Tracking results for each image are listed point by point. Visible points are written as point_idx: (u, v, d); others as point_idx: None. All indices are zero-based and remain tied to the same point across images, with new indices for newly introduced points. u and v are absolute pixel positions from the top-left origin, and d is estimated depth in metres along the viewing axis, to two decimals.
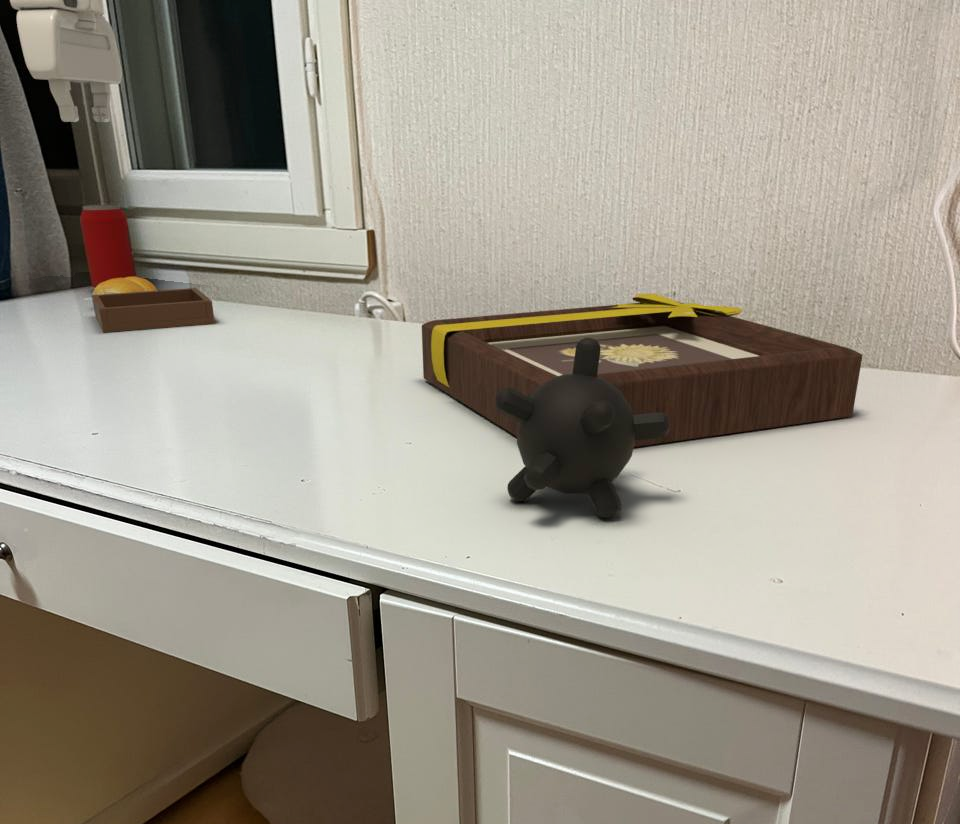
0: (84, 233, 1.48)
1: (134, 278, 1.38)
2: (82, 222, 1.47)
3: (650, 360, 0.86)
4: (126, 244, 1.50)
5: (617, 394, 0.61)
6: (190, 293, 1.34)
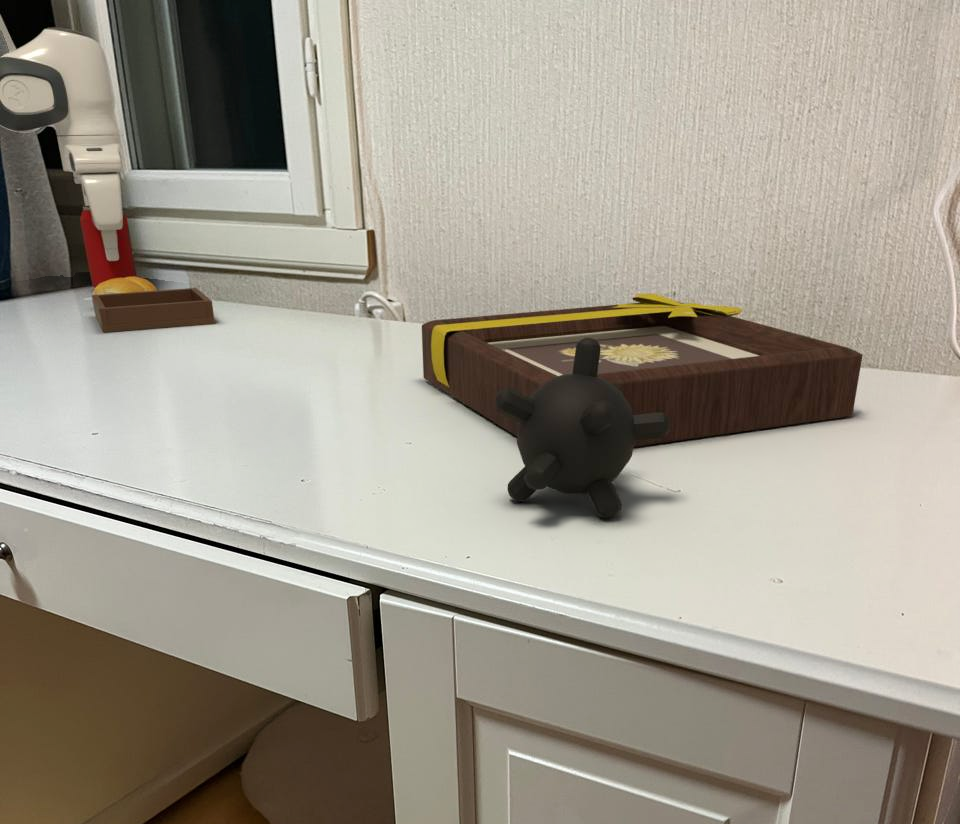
0: (84, 233, 1.48)
1: (134, 278, 1.38)
2: (82, 222, 1.47)
3: (650, 360, 0.86)
4: (126, 244, 1.50)
5: (617, 394, 0.61)
6: (190, 293, 1.34)
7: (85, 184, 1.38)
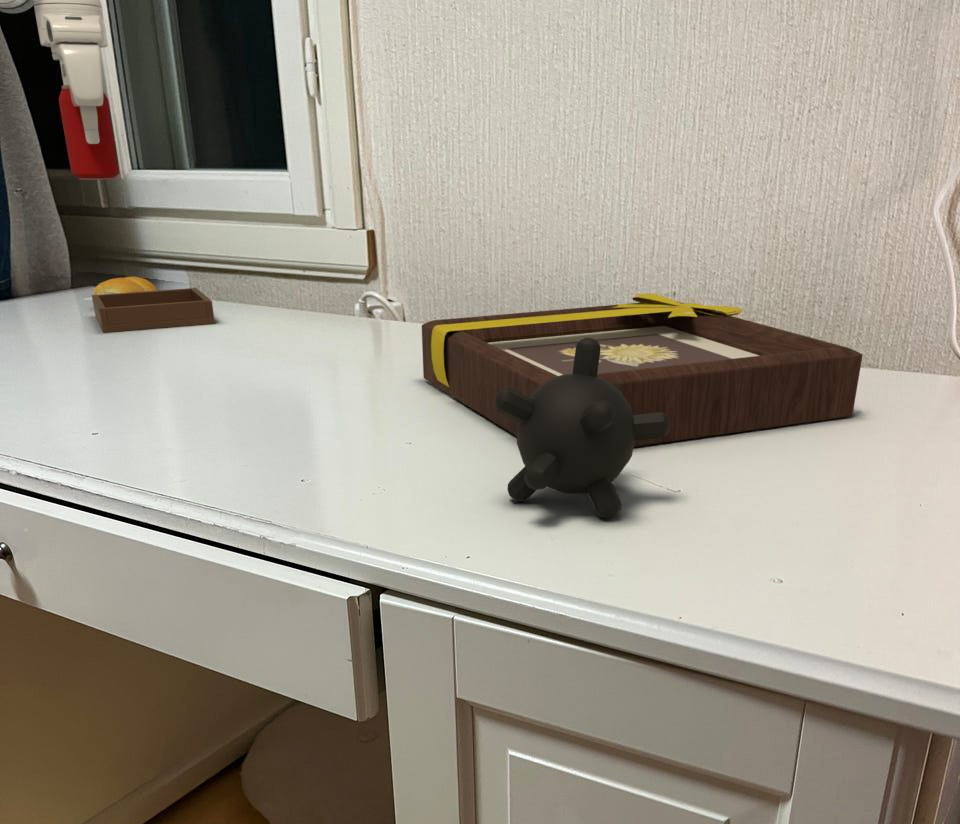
0: (63, 114, 1.39)
1: (134, 278, 1.38)
2: (61, 102, 1.39)
3: (650, 360, 0.86)
4: (107, 128, 1.41)
5: (617, 394, 0.61)
6: (190, 293, 1.34)
7: (63, 53, 1.30)
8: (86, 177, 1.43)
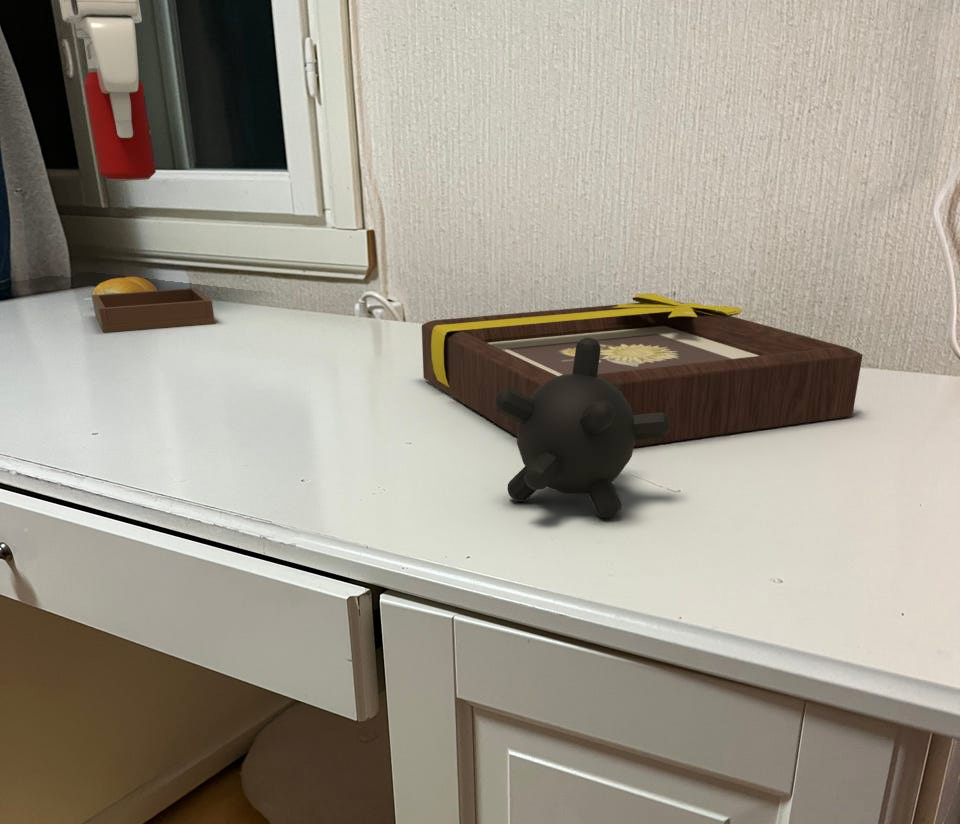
0: (90, 103, 1.17)
1: (134, 278, 1.38)
2: (87, 88, 1.17)
3: (650, 360, 0.86)
4: (142, 119, 1.19)
5: (617, 394, 0.61)
6: (190, 293, 1.34)
7: (91, 28, 1.08)
8: (117, 177, 1.21)
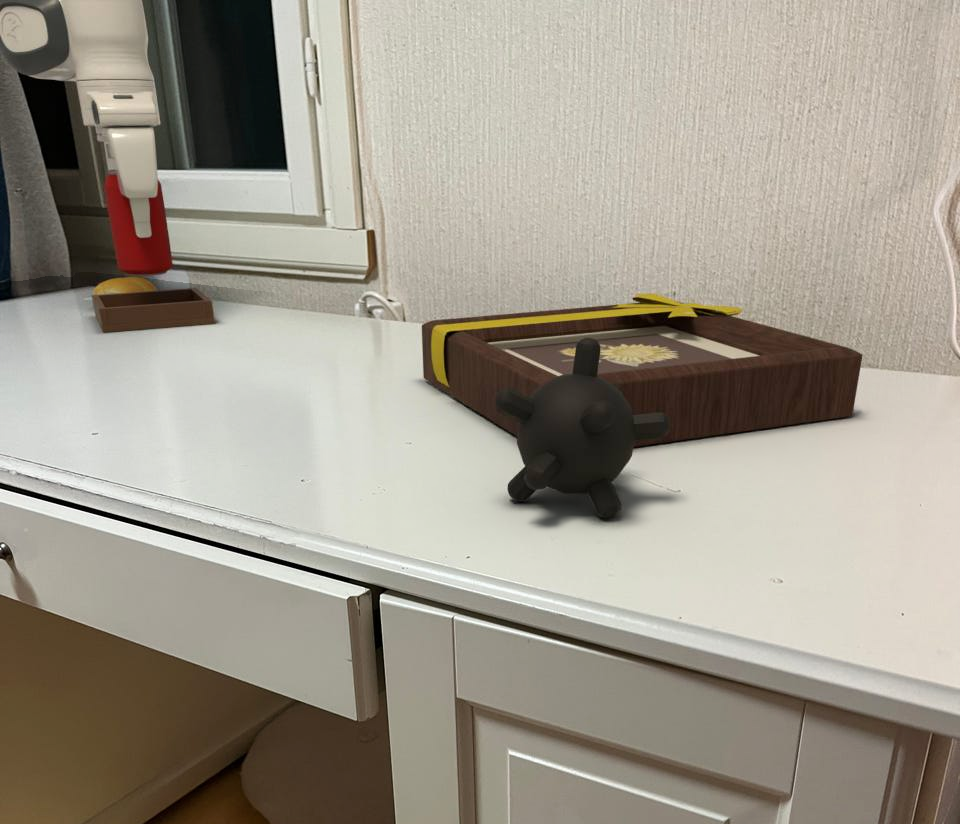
0: (109, 203, 1.20)
1: (134, 278, 1.38)
2: (107, 189, 1.20)
3: (650, 360, 0.86)
4: (160, 218, 1.22)
5: (617, 394, 0.61)
6: (190, 293, 1.34)
7: (112, 140, 1.11)
8: (135, 273, 1.24)
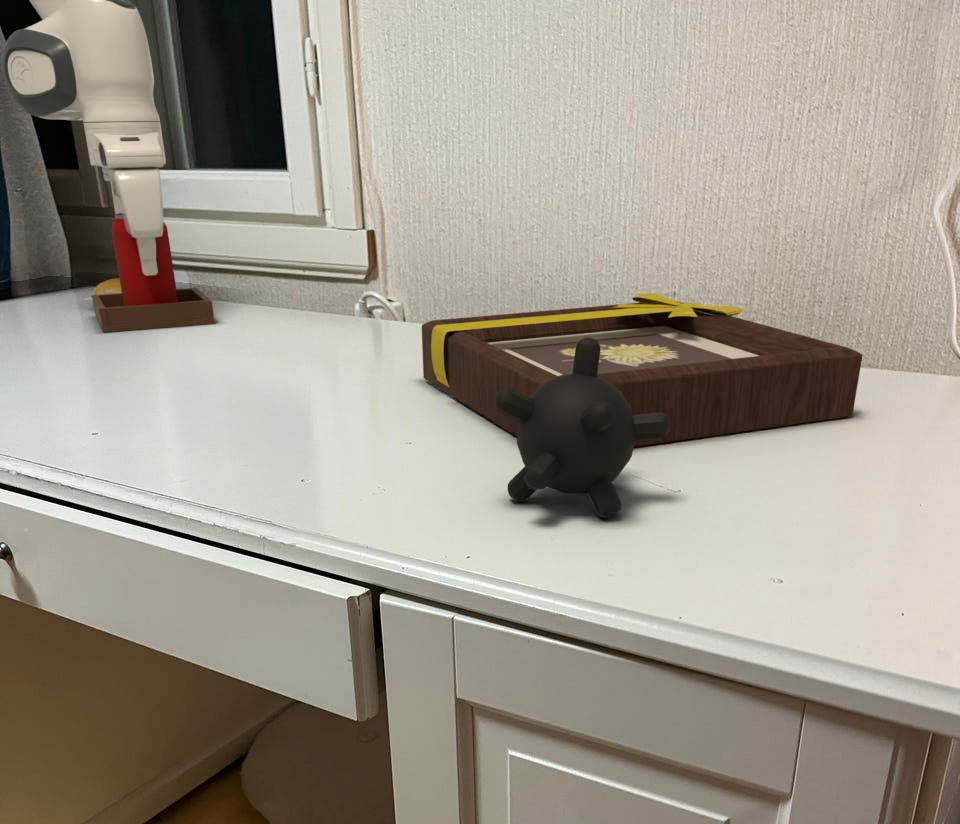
0: (116, 247, 1.23)
1: None
2: (114, 233, 1.22)
3: (650, 360, 0.86)
4: (166, 260, 1.24)
5: (617, 394, 0.61)
6: (190, 293, 1.34)
7: (119, 181, 1.13)
8: None
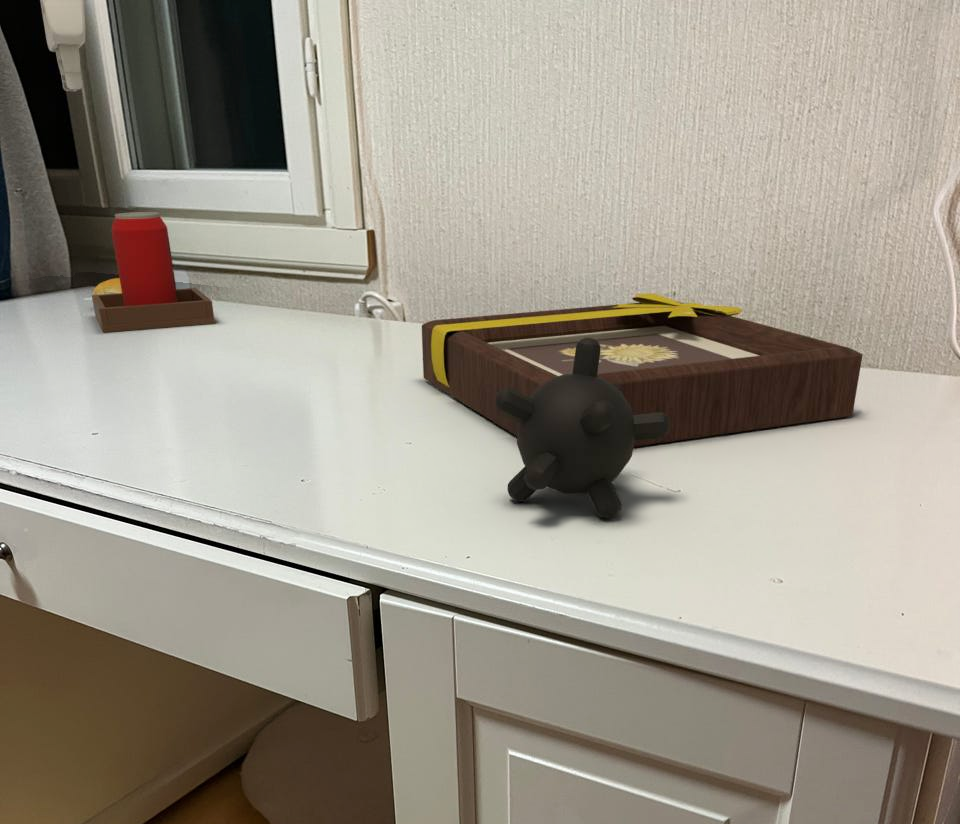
0: (116, 247, 1.23)
1: None
2: (114, 233, 1.22)
3: (650, 360, 0.86)
4: (166, 260, 1.24)
5: (617, 394, 0.61)
6: (190, 293, 1.34)
7: None
8: None
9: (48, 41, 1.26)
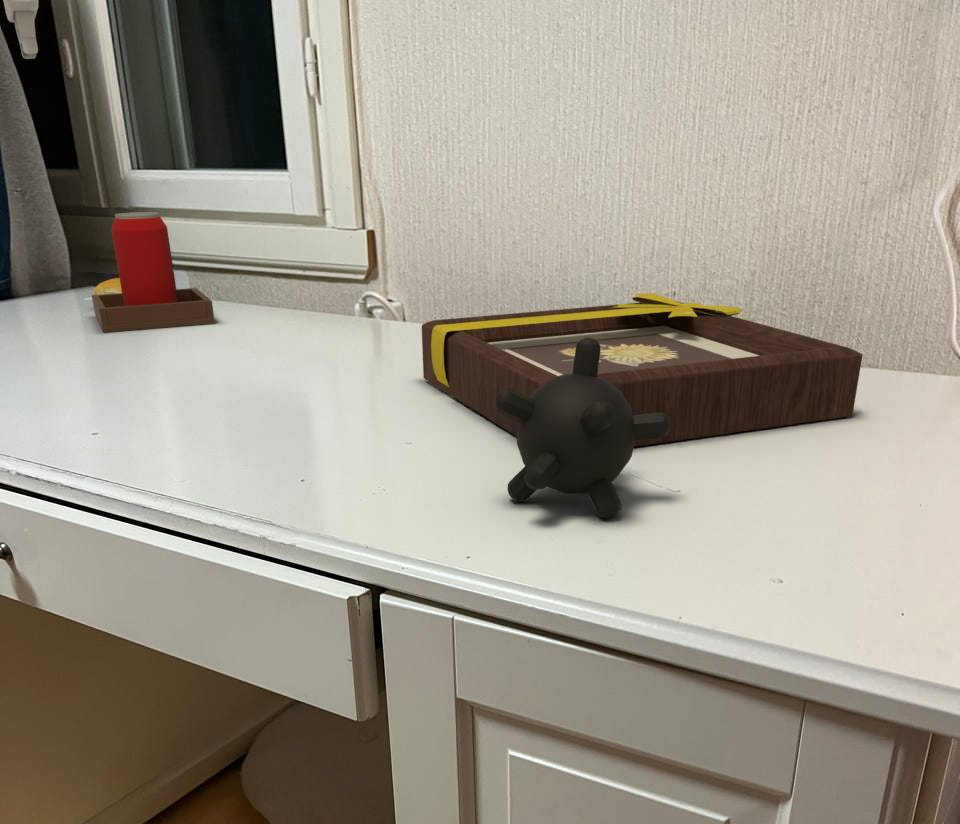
0: (116, 247, 1.23)
1: None
2: (114, 233, 1.22)
3: (650, 360, 0.86)
4: (166, 260, 1.24)
5: (617, 394, 0.61)
6: (190, 293, 1.34)
7: None
8: None
9: (6, 11, 1.34)
